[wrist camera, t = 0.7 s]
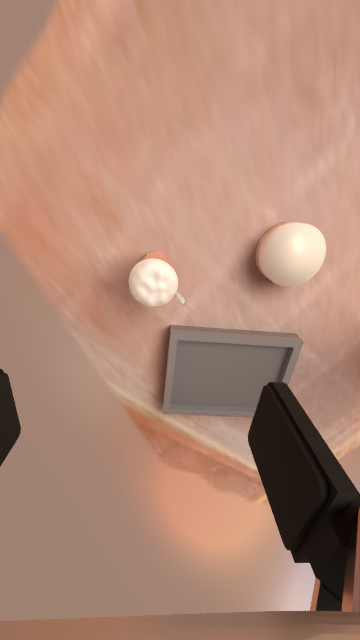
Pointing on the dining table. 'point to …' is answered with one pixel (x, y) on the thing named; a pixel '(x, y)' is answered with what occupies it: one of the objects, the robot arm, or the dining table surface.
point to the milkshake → (154, 280)
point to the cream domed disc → (290, 253)
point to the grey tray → (224, 369)
